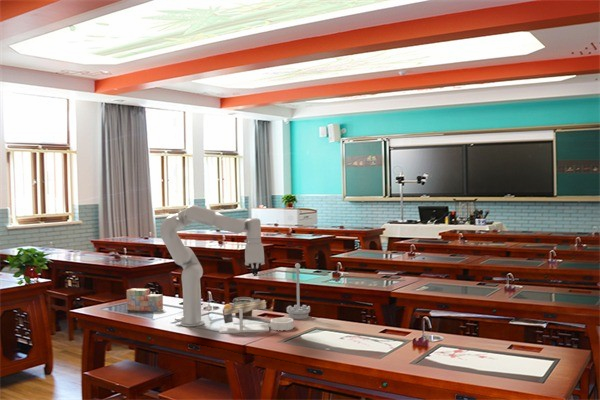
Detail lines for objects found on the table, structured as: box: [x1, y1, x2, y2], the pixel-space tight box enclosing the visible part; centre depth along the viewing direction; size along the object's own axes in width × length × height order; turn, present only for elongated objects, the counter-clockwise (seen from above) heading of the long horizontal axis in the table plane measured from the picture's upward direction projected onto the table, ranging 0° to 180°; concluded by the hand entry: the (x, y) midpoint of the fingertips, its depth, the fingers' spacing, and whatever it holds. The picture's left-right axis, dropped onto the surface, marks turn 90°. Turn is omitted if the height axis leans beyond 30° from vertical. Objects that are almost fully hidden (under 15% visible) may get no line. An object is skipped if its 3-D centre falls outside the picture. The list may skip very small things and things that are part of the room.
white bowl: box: [269, 317, 295, 332], centre depth 303 cm, size 12×12×4 cm
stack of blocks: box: [126, 288, 164, 313], centre depth 353 cm, size 21×6×12 cm, turn 71°
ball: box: [223, 303, 232, 310], centre depth 300 cm, size 4×4×4 cm
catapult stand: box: [218, 309, 270, 334], centre depth 301 cm, size 25×12×11 cm, turn 96°
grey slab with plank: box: [222, 298, 267, 324], centre depth 307 cm, size 22×18×7 cm
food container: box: [232, 296, 254, 318], centre depth 333 cm, size 12×6×10 cm, turn 84°
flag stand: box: [286, 262, 311, 320], centre depth 328 cm, size 13×13×30 cm
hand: (255, 275), depth 314 cm, fingers closed
